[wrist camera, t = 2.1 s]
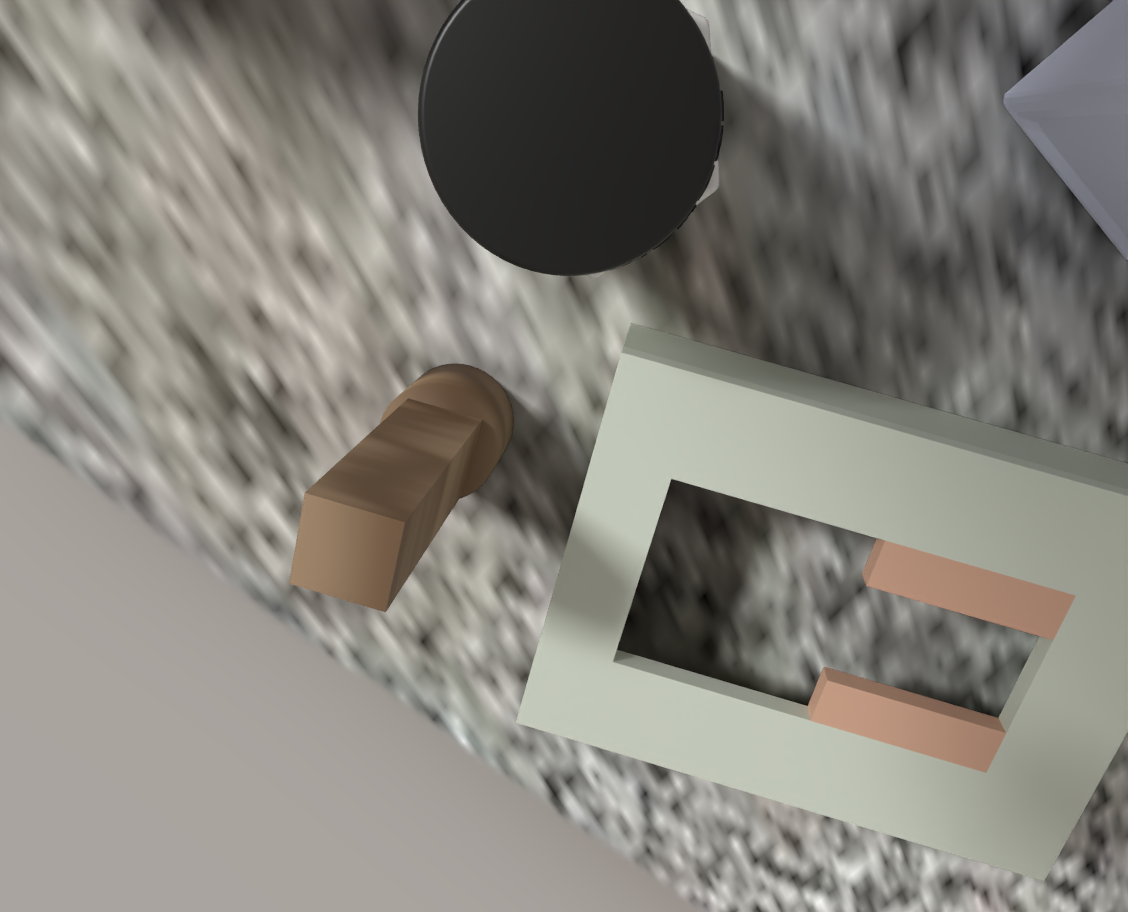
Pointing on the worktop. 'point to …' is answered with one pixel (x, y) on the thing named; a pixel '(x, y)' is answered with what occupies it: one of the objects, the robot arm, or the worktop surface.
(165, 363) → the worktop surface
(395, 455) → the bolt peg
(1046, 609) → the keyhole box
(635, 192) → the jar
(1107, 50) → the soap bottle
